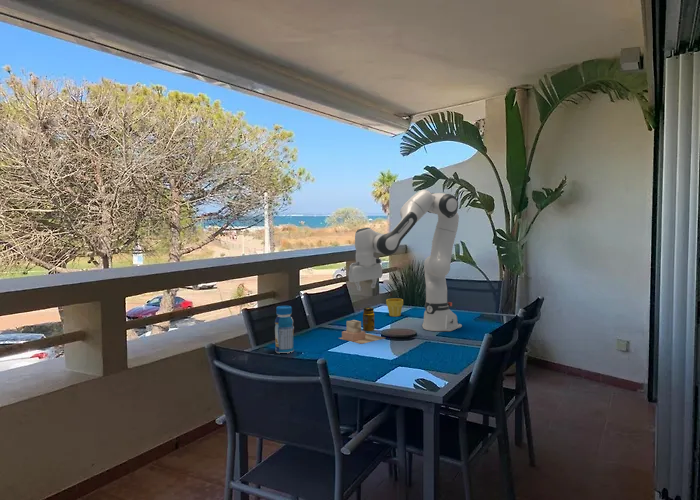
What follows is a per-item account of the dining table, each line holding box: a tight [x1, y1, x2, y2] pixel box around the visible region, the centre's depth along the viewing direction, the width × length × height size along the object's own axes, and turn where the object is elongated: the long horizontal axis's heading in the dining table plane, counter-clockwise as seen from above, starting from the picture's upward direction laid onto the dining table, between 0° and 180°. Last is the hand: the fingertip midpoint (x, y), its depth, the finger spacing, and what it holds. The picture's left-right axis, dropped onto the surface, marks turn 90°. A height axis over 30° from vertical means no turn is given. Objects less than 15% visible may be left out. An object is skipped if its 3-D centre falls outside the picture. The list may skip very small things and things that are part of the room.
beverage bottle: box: [274, 305, 295, 354], centre depth 217 cm, size 8×8×20 cm
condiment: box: [362, 306, 378, 332], centre depth 257 cm, size 7×8×12 cm
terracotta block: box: [341, 330, 366, 342], centre depth 238 cm, size 8×8×4 cm
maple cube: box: [345, 319, 362, 333], centre depth 238 cm, size 5×5×5 cm
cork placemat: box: [339, 332, 386, 345], centre depth 240 cm, size 17×16×1 cm
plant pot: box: [385, 298, 404, 317], centre depth 298 cm, size 10×10×10 cm
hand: (366, 289), depth 241 cm, fingers open, 8 cm apart
